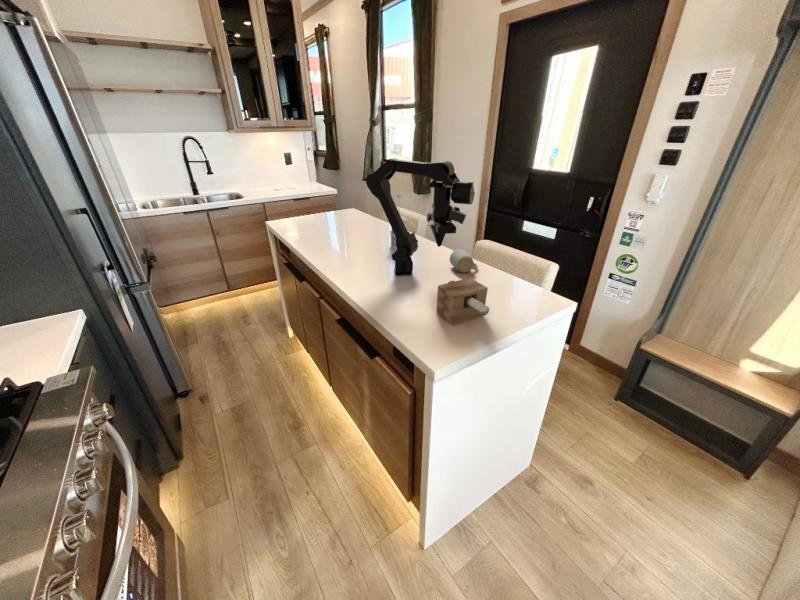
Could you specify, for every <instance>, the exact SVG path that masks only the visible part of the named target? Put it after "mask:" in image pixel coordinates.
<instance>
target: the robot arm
mask: <svg viewBox="0 0 800 600" xmlns="http://www.w3.org/2000/svg"><path fill="white" fill-rule="evenodd" d="M396 173H403V174H410V175H418V176H423V177H427V178H429V180H432V181H431V182H430V183H429V184H428V185H427V188H430V189H431V188H433V199H432V200H433V201H432V202H433V203H431V208H432V212H428V213H427V214H426V221H427V222H428V223H430V222H431V223H432V224H430V225H429V226H430V229H431V232H432V234H433V237H434V240H435V243H436V245H437V247H439V248H440V247H442V244H443V241H444V239H445V236H446V235H447V234H450V235H451V234H456V233H457V226H456V224H454V223H453V221H455V222H457V223H459V224H460V225H461V224H462V225H463V224H464V221H465V219H466V217H467V214H465V212H462V211H461V210H460V208H459V207H457V206H452V205H451V201H452V202H453V203H454V204H460V205H461V204H462V205H473V202H474V198H475V193H476V192H475V188H474V182H473V181H468V182H465V181H463V182H462V181H460V179H459V178H458V175H457V174H456V172H455V166H454V164H453V163H452V162H451V161H448V160H445V161H444V160H443V161H442V160H441V161H434V162H425V161H424V162H423V161H416V160H415V161H414V160H409V159H408V160H407V159H400V158H399V159H398V158H396V157H394V158H389V159H386V161H385V162H384V163H383V164H382V165H381V166H380V167H378V168H377V169H375V171H374V172H372V173H369V174H368V175H367V177H366V180H365V184H366V187H367V188H368V190H369V191H370V193H371V194H372V195H373V196H374V197H375V198H376V199H377V200H378V202H379V203H380V206H381V207H382V209H383V212H384V214H385V217H386V218H387V220H388V222H389V225H390V227H391V228H392V229H391V231H392V230H393V232H394V234H395V243H396V247H397V251H395V252H394V251H393V253H392V254H391V258H392V261H394V268H393V270H394V274H395V276H397V277H399V276H412V275H413V270H414V263H413V262H414V261H413V260H412V256H413V255H414V253H416V252H417V250H418V248H419V240H418V239H417V237H416V234H415V232H414V231H413V232H409V231H408V229H406V228H407V227H406V225H405V224H404V223H405V222H404V223H403V221H402V218H401V214H400V211H399V209H398V207H397V206H396V203H395V201H394V199H393V196H392V193H391V183H390V180H391V179H392V178H393V177H394V175H395V174H396Z"/></svg>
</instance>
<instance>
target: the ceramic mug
mask: <svg viewBox="0 0 800 600" xmlns="http://www.w3.org/2000/svg"><path fill="white" fill-rule="evenodd" d="M449 262H450V264H451V265H452V266H453V267H454V268H455V269H456V270H457V271H458V272H459V273H463V274H464V273H469V272H470V271H471V270H474V271H477V269H478V267H479V266H478V265H477V264H476V262H475V263H474V260H473V258H472V256H470V254H469V253H468V252H467V251H466V250H464V249H463V248H458V249H454V250H453V251H452V253H451V254H450V256H449Z"/></svg>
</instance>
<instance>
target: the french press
mask: <svg viewBox="0 0 800 600" xmlns="http://www.w3.org/2000/svg"><path fill="white" fill-rule="evenodd" d="M396 198H402V195H401V194H398V193H397V195H396ZM400 216H401V215H400ZM401 218H402V221H403V223H407V222H408V221H409V219H408V218H406V217H405V216H401ZM406 229H407V227H406ZM407 230H408V229H407ZM388 250H390V251H391V252H393V253H394V252H395V251H397V247H396V242H395V234H394V232H393V230H392V227H391V231H390V246H389V247H388Z"/></svg>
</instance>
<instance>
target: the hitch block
mask: <svg viewBox="0 0 800 600" xmlns="http://www.w3.org/2000/svg"><path fill="white" fill-rule="evenodd" d="M454 281H455V282H451V283H448V282H446V283H443V284H439V285H437V296H436V297H437V298H436V308H435V309H436V312H435V313H436V315H438V316H439V317H440V318H441V319H442V320H444V321H445V322H446V323H448V324H449V325H450V326H454V325H458V324H462V323H465V322H467V321H468V322H469V321H472V320H474V319H479V318H481V317H483V316H482V315H481V314H479V313H478V312H476V311H475V310H474V309H472V308H471V307H469V306H468V305H466V304H465V303H464V297H466V296H472V297H473V298H475V299H476V300H478V301H480V302H481V303H483V304H484V305H486V302H487V297H488V296H487V294H488V290H489V289H488V287H487V286H485V285H484V284H482V283H480V282H478V281H477V280H475V279H474V278H471V277H468V278H463V279H460V280H454Z"/></svg>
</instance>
